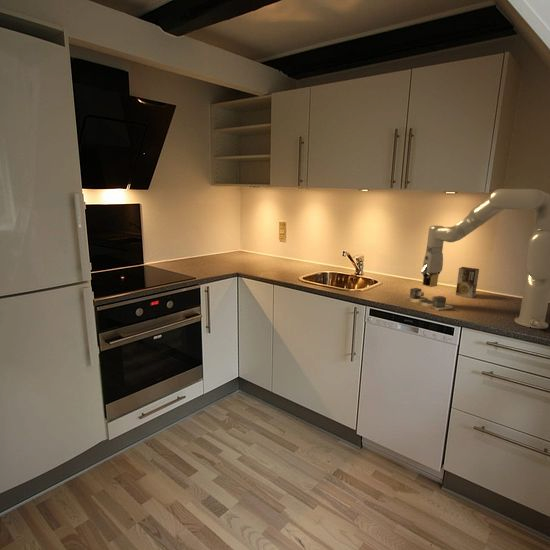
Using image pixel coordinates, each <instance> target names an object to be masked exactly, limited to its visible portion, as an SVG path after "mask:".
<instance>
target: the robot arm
mask: <svg viewBox="0 0 550 550" xmlns="http://www.w3.org/2000/svg"><path fill="white" fill-rule="evenodd" d="M504 210H526V211H527V210H528V211H533V212H534V219H533V221H534V222H533V232H532V236H530V238H529V240H528V248H527V249H528V250H527V257H526V260H527V261H526V272H527V273H526V279H525V284H524V290H523V295H522V299H521V300H522V301H521V305H520V312H519V316H518V317H515V318H514V322H515V323H516V324H517V325H520V326H523V327H527V328H530V327H531V329H538V330H539V329H540V330H542V329H543V330H544V329H547V328H549V323H547V322H545V321H546V317H547V312H548V308H549V307H548V306H549V301H550V194H549V193H547V192H545V191H542V190H540V189H537V188H536V189H535V188H498V189H495V190H494V191H493V192H492V193H490V195H489V197H487V198H486V199H484V200H483V201H481V202H480V203H479V204H477V205H476V206H474V207H473V208H472V209H471V210H470V211H469V213H468V214H467V215H466V216H465V217H464V218H463V219H462V220H460V221H459V222H458V223H456V224H454V225H453V226H442V225H430V227H429V228H428V234H427V243H426V251H425V255H424V258H423V261H422V269H421V271H420V273H421V275H423V277H424V282H423V281H422V284H423V285H422V286H425V285H427V286H426V287H428V286H429V281H430V278H429V276H430V273H434V274H437V275H438V276H439V275H440V273H441V272H442V271H443V266H444V254H443V250H444V249H443V248H444V242H446V243H455V242H458V241H461V240H463V238H465V237H467V236H468V235H470V234H471V233H472V232H474V231H475V230H477V229H478V228H480V227H481V226H483V225H485V224H486V223H487V222H489V221H490V220H492V219H493V218H494V217H495V216H497V215H499V214H500V213H501V212H503V211H504ZM427 273H428V275H427Z"/></svg>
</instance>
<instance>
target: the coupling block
mask: <svg viewBox="0 0 550 550" xmlns="http://www.w3.org/2000/svg"><path fill="white" fill-rule="evenodd" d="M427 275H428V273H427ZM429 278H430V281H429V286H427V285H423V282H424V277H423V279H422V286H426V287H429V288H434V287H435V288H436V287H438V281H439V275H437V274H434V273H430V276H429Z"/></svg>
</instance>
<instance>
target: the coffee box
mask: <svg viewBox="0 0 550 550" xmlns="http://www.w3.org/2000/svg"><path fill="white" fill-rule="evenodd" d="M457 272H458V274H457V280H456V281H457V283H456V290H455V295H456V296H460V297H465V298H470V299H473V298H475V297H476V294H477V287H478V280H479V273H480V268H475V267H467V266H462V267H459V268H458V271H457Z"/></svg>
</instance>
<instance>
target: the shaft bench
mask: <svg viewBox="0 0 550 550" xmlns="http://www.w3.org/2000/svg"><path fill="white" fill-rule="evenodd" d="M424 294H425V292H424V291H422V288H419V287H414V288H412V287H411V288H410V292H409V297H404V300H405V299H406V300H405V301H407V300H409V301H408V302H410V301H411V303H413V302H414V304H416V303H417V305H419V304H420V306H422V305H423V307H425V306H426V307H425V308H428V307H429V309H431V308H432V309H431V310H435V311H437V312H438V311H443V310H448V309H453V305H450V304H447V297H445V296H443V295H439V296H438V295H437V296H432V297H431V298H427V297H425V296H424Z"/></svg>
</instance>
